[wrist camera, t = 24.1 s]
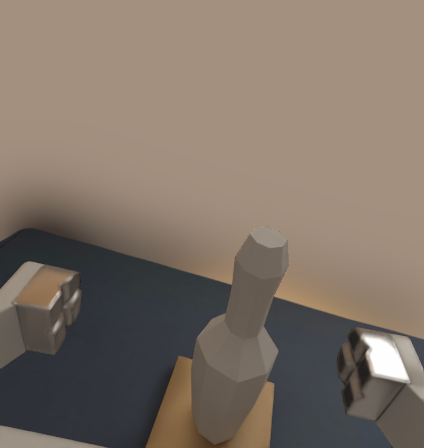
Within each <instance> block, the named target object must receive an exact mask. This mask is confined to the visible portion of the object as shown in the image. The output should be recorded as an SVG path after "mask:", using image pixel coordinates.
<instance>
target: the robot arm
mask: <svg viewBox="0 0 424 448" xmlns="http://www.w3.org/2000/svg"><path fill="white" fill-rule="evenodd" d="M80 283H81V277H80V273H78V272H76V271H71V270H67V269H63V268H58V267H54V266H49V265H43V264H39V263H35V262H30V261H29V262H26V263H24V264H23V265H22V266H21V267H20V268H19V269H18V270H17V272H16V273H15V274H14V275H13V276H12V277H11V278H10V279H9V280H8V281H7V282H6V284H5V285H4V286H3V287H2V288H1V289H0V369H1V368H2V367H4V366H5V365H7V364H8V363H9V362H11V361H12V360H14V359H15V358H17V357H18V356H20V355H21V354H22V353H24V352H25V351H26V350H31V351H37V352H42V353H48V354H54V355H55V354H56V353H57V351H58V349H59V348H60V346H61V344H62V343H63V341H64V339H65V337H66V336H67V335H66V328H67V327H68V326H70V325H72V324H74V322H75V320H76V318H77V317H78V314H79V311H80V309H81V305H82V292H81V291H80V290H79V289H78V286H79V284H80ZM348 339H349V342H347V343H345V344H343V345H342V346H341V348H340V350H339V352H338V356H337V373H338V377H339V379H340V380H341V381H342V382H343V383H344V385H345V386H344V388H343V390H342V391H341V393H342V397H343V402H344V407H345V412H346V414H347V415H352V416H356V417H360V418H364V419H369V420H373V421H377V422H376V424H377V425H378V427H379V428H380V429H381V431H382V432H383V434H384V435H385V437H386V438H387V440H388V441H389V442H390V444H391V445H392V447H393V448H424V370H423V367H422V365H421V363H420V361H419V358H418V356H417V354H416V352H415V349H414V347H413V345H412V343H411V341H410V339H409V338H407V337H405V336H400V335H394V334H387V333H384V332H378V331H373V330H368V329H363V328H357V327H354V328H352V329H351V330H350V332H349V333H348ZM0 448H107V447H102V446H97V445H92V444H88V443H83V442H78V441H73V440H68V439H64V438H59V437H54V436H49V435H44V434H40V433H35V432H30V431H25V430H20V429H16V428H11V427H6V426H1V425H0Z"/></svg>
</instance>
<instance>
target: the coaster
mask: <svg viewBox="0 0 424 448" xmlns="http://www.w3.org/2000/svg"><path fill="white" fill-rule="evenodd" d="M192 361H193V360H192V359H188V358H185V357H182V356H178V359H177V362H176V365H175V367H174V370H173V373H172V376H171V378H170V381H169V384H168V387H167V390H166V392H165V395H164V398H163V401H162V403H161V406H160V409H159V412H158V414H157V417H156V420H155V423H154V426H153V428H152V431H151V434H150V437H149V439H148V442H147V445H146V448H269V447H270V435H271V422H272V409H273V396H274V383H271V382H267V381H266V383H265V385H264V387H263V389H262V391H261V393H260V395H259V397H258V399H257V401H256V403H255V405H254V407H253V408H252V410H251V411H250V413H249V414H248V416H247V417H246V419H245V420H244V422H243V423H242V425H241V426H240V428H239V429H238V431H237V432H236V434H235V435H234V437H233V438H232V439H230V440H227V441H224V442H221V443H218V444H216V445H214V444H213V443H211V442H210V441H209V440H207V439H206V438H204V437H203V436H202V435H200V434H199V433H198V432H197V428H196V425H195V422H194V419H193V416H192V399H191V366H192Z"/></svg>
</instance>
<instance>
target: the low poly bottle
mask: <svg viewBox="0 0 424 448" xmlns="http://www.w3.org/2000/svg"><path fill="white" fill-rule="evenodd" d="M287 267H288V240H287V239H286V238H285V237H284V235H283V234H282V233H281V232H280V231H277V230H275V229H273V228H270V227H258V228H255V229H254V230H253V231H252V232H251V233H250V235H249V236H248V238H247V239H246V241H245V242H244V244H243V246H242V247H241V249H240V250H239V252H238V253H237V255H236V256H235V262H234V273H233V282H232V290H231V294H230V299H229V303H228V307H227V311H226V314H223V315H220V316H218V317H215V318H213V319H212V320H211V321H210V322H209V323H208V325H207V326H206V327H205V328H204V330H203V331H202V332H201V333H200V335H199V336H198V337H197V339H196V345H195V350H194V356H193V361H192V366H191V399H192V416H193V419H194V422H195V425H196V428H197V432H198V433H199V434H200V435H202V436H203V437H204V438H206V439H207V440H209V441H210V442H211V443H213V444H214V445H216V444H218V443H221V442H224V441H227V440H230V439H232V438H233V437H234V435H235V434H236V432H237V431H238V429H239V428H240V426H241V425H242V423H243V422H244V420H245V419H246V417H247V416H248V414H249V413H250V411H251V410H252V408H253V407H254V405H255V403H256V401H257V399H258V397H259V395H260V393H261V391H262V389H263V387H264V385H265V383H266V381H267V379H268V376H269V374H270V371H271V369H272V366H273V364H274V361H275V359H276V356H277V354H278V349H277V348H276V346H275V344H274V343H273V341H272V339H271V338H270V336H269V335H268V333H267V331H266V330H265V328H264V323H265V320H266V317H267V314H268V311H269V308H270V305H271V303H272V300H273V297H274V295H275V293H276V291H277V288H278V286H279V284H280V282H281V280H282V278H283V276H284V274H285V272H286V270H287Z"/></svg>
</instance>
